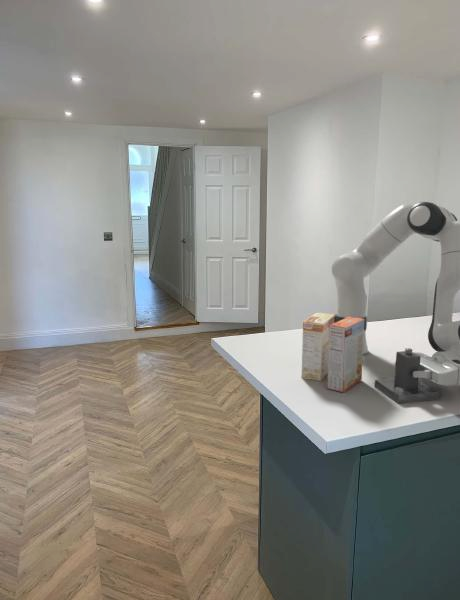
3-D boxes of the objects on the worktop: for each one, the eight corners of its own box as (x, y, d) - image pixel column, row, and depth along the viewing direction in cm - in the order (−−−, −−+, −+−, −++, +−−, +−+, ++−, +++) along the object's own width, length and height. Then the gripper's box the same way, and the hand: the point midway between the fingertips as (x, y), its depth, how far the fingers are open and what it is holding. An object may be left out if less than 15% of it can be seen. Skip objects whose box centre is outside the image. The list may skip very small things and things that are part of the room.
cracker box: (345, 376, 154) (348, 315, 150) (362, 380, 151) (366, 318, 147) (325, 388, 144) (328, 323, 140) (343, 393, 140) (346, 327, 136)
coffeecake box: (313, 364, 166) (315, 312, 162) (333, 367, 163) (335, 314, 159) (300, 378, 153) (302, 321, 149) (321, 381, 150) (323, 323, 146)
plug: (393, 388, 142) (396, 347, 140) (406, 387, 143) (409, 346, 141) (404, 395, 137) (407, 352, 134) (417, 394, 138) (420, 351, 135)
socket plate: (374, 387, 145) (375, 377, 144) (410, 383, 148) (411, 373, 147) (398, 403, 132) (399, 393, 132) (437, 399, 135) (438, 389, 135)
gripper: (423, 346, 151) (385, 349, 148) (468, 366, 131) (426, 370, 128) (422, 364, 152) (384, 367, 149) (466, 387, 133) (424, 392, 129)
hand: (404, 369), depth 138 cm, fingers open, 7 cm apart
